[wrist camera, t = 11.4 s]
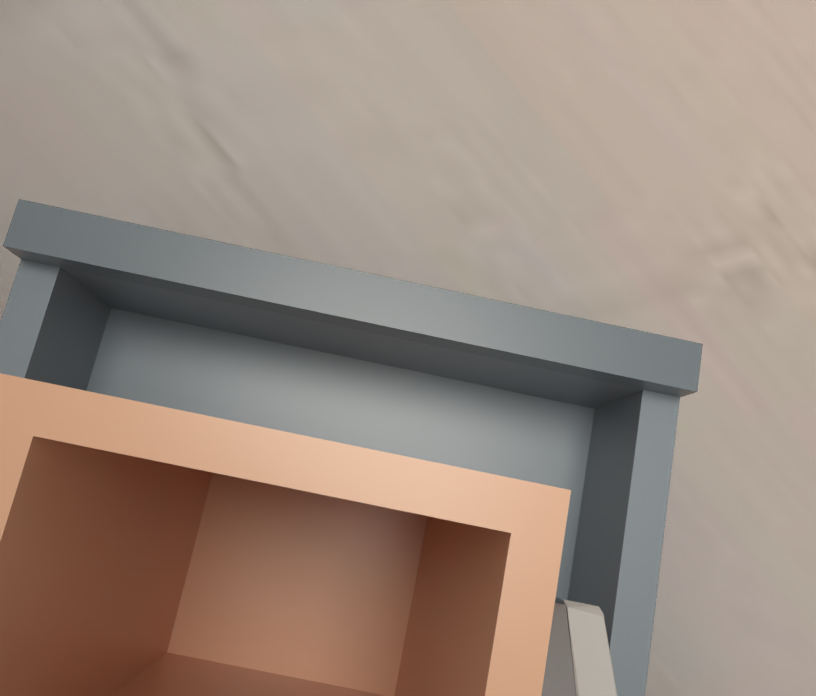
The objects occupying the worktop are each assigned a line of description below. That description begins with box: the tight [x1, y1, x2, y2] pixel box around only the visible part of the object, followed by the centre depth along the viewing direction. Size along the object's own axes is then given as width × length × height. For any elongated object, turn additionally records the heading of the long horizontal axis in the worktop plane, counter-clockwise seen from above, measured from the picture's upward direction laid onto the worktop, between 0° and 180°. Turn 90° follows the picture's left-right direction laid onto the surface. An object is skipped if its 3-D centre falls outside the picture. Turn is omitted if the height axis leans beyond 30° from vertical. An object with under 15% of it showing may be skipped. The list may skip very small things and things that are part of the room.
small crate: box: [0, 373, 571, 696], centre depth 11 cm, size 6×4×9 cm
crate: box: [0, 199, 703, 696], centre depth 16 cm, size 14×12×5 cm
